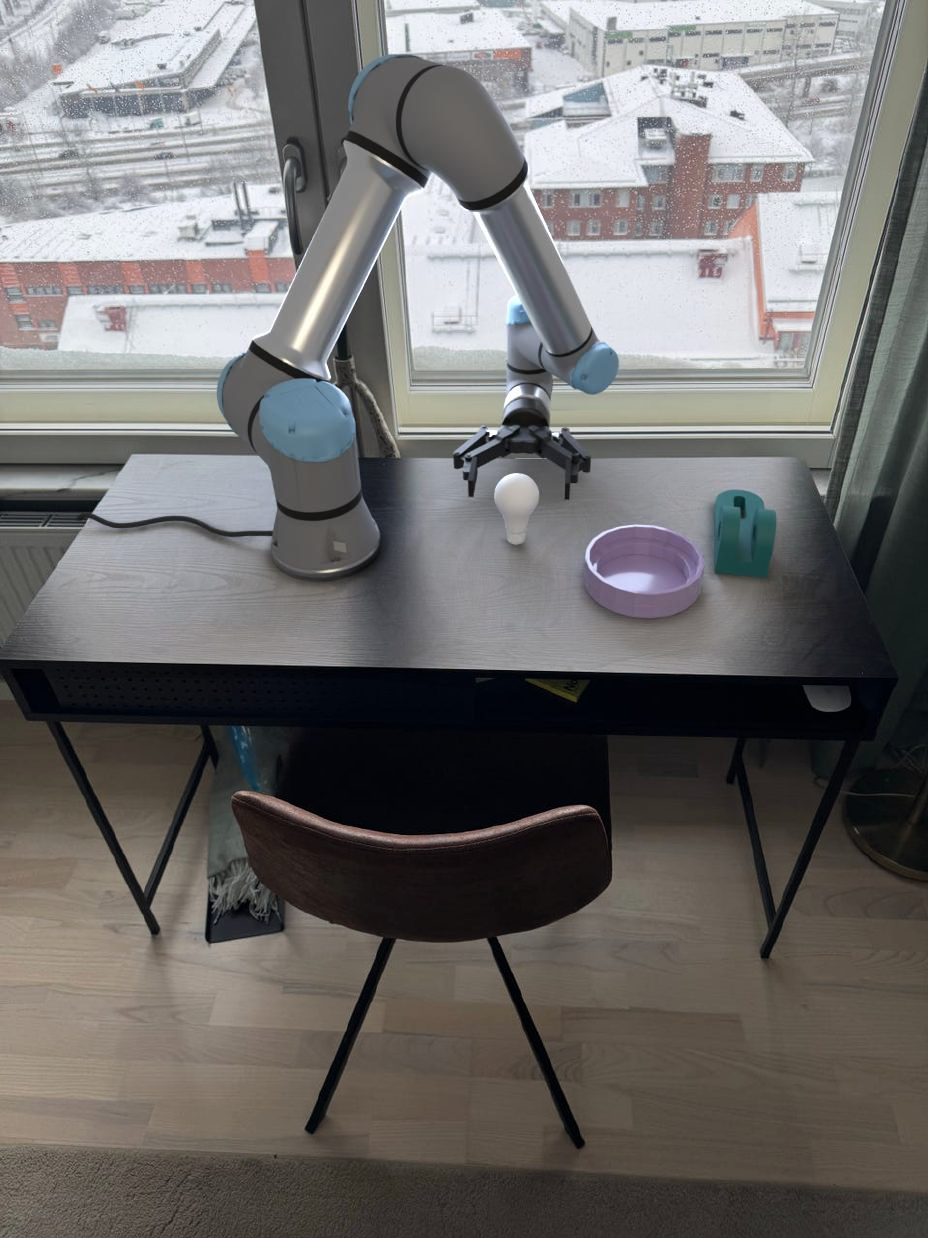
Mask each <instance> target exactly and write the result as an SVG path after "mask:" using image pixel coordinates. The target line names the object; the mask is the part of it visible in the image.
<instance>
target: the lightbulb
mask: <svg viewBox="0 0 928 1238" xmlns="http://www.w3.org/2000/svg"><path fill="white" fill-rule="evenodd" d="M493 495H494V496H493V498H494V503H495V506H496V508H497V510H498V511H499V513H500V514H501V516H502V518H503V520H504V527H505V530H506V537H507V538H506V540H507V541H508V543H509V544H512V545H514V546H518V545H522V544H523V543H524V542H525V541H526V534H527V530H528V527H529V521H530V517H531V515H533V513H534V511H535V509H536V508H537V506H538V505H539V502H540V492H539V487H538V485H537V483H536V481H534V479H532V478H531V477H530V476H528V475H526V474H524V473H520V472H518V473H515V472H514V473H511V474H507V475H505V476H503V477H502V478H501V479H500V480H499V481H498V483H497V484H496V486H495V489H494V493H493Z"/></svg>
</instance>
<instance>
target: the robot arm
mask: <svg viewBox="0 0 928 1238" xmlns="http://www.w3.org/2000/svg"><path fill="white" fill-rule="evenodd" d="M347 103H348V105H347V107H348V108H347V109H348V112H349V122H350V127H349V129H348V132H347V134H346V136H345V138H344V140H343V142H342V144H343V147H344V151H345V154H346V158H347V162H346V166H345V168H344V170H343V172H342V174H341V177H340V179H339V181H338V183H337V185H336V187H335V189H334V192H333V193H332V196H331V198H330V200H329V202H328V204H327V207H326V209H325V211H324V213H323V215H322V217H321V220H320V222H319V224H318V226H317V228H316V230H315V232H314V235H313V236H312V239H311V241H310V243H309V245H308V247H307V249H306V251H305V254H304V256H303V258H302V260H301V263H300V265H299V266H298V269H297V270H296V273H295V275H294V278H293V280H292V282H291V283H290V286H289V288H288V291H287V292H286V295H285V297H284V299H283V301H282V303H281V305H280V307H279V310H278V312H277V314H276V316H275V318H274V320H273V323H272V325H271V327H270V329H269V330H268V331H266V332H264V333H260V334H257V335H254V336H253V338H252V339H251V342H250V344H249V346H248V349H247V350H246V351H244V352H242V353H240V354H239V355H238V356H234V357H232V358H231V359H230V360H229V361H228V362H227V363H226V365H225V366H224V368H222V370H221V372H220V375H219V377H218V380H217V386H216V401H217V405H218V408H219V411H220V413H221V415H222V417H223V418H224V420H225V421H226V423H227V425H228V427H229V428H230V429H231V430H232V432H233V433H234V435H237V436H238V437H239V438H240V439H241V440H242V441H243V442H244V443H245V444H246V445H247V446H248V447H249V448H251V450H252V451H253V452H254V453H255V454H256V455H257V456H258V457H259V458H260V459H261V460H262V461H263V462H264V463H265V464H266V465H267V467H268V470H269V472H270V476H271V483H272V487H273V493H274V497H275V503H276V511H275V512H276V513H275V519H274V524H273V529H272V530H237V531H231V530H230V531H228V530H223V529H219V528H216V527H214V526H211V525H209V524H208V523H206V522H203V521H202V520H199V519H197V518H194V517H191V516H186V515H163V516H157V517H153V518H148V519H144V520H143V519H142V520H138V521H132V522H114V521H110V520H107V519H105V518H102V517H101V516H98V515H97V514H94V513H92V512H82V513H80V514H79V515H78V516H77V517H76V518H75V521H77V522H80V521H83V520H84V519H86V518H87V519H90V520H93V521H95V522H98V523H99V524H101V525H104V526H106V527H110V528H113V529H132V528H139V527H143V526H145V527H146V526H149V525H150V526H151V525H154V524H159V523H166V522H184V523H185V522H186V523H190V524H194V525H196V526H198V527H200V528H202V529H204V530H206V531H208V532H210V533H212V534H214V535H218V536H221V537H225V538H226V537H227V538H241V537H243V538H244V537H271V542H270V548H271V554H272V558H273V561H274V564H275V565H276V566H277V568H279V569H280V571H282V572H283V573H285V574H287V575H288V576H292V577H294V578H296V579H301V580H305V581H316V582H318V581H333V580H337V579H341V578H346V577H348V576H351V575H354V574H356V573H359V572H360V571H362V570H363V569H365V568H366V567H369V565H371V564H372V563H373V562H374V561H375V560H376V558H377V557H378V555H379V553H380V551H381V547H382V543H381V541H382V540H381V533H380V528H379V526H378V523H377V522H376V521H375V519H374V518H373V517H372V515H371V512H370V510H369V508H368V505H367V504H366V502H365V500H364V497H363V492H362V481H361V474H360V463H359V456H358V445H357V438H356V436H357V435H356V428H357V427H356V420H355V417H354V414H353V411H352V405H351V402H350V400H349V398H348V397H347V395H346V394H345V393H344V392H343V391H342V390H341V389H340V388H338V387H337V386H336V385H334V384H332V383H330V380H331V378H332V377H331V373H330V371H329V367H328V364H327V362H328V359H329V357H330V355H331V353H332V351H333V349H334V347H335V346H336V345H335V344H336V342H338V339H339V337H340V334H341V332H342V331H343V328H344V326H345V324H346V322H347V320H348V318H349V316H350V314H351V312H352V311H353V308H354V306H355V303H356V301H357V300H358V297H359V296H360V293H361V292H362V290H363V288H364V286H365V283H366V281H367V279H368V277H369V275H370V273H371V271H372V269H373V267H374V266H375V263H376V260H377V259H378V257H379V254H380V252H381V251H382V248H383V246H384V244H385V242H386V240H387V238H388V236H389V234H390V232H391V230H392V228H393V226H394V224H395V222H396V219H397V218H398V216H399V213H400V211H401V209H402V208H403V205H404V203H405V201H406V200H407V198H408V197H411V196H415V195H417V194H421V193H422V192H423V191H424V189H425V187H426V186H427V184H428V181H429V180H430V178H431V176H432V174H433V175H435V176H436V177H437V178H439V179H440V180H441V181H443V182H444V184H445V185H447V187H448V188H449V190H450V191H452V193H453V194H454V196H455V198H456V199H457V202H458V203H459V205H460V207H461V208H462V210H464V211H466V212H469V213H473V215H474V216H475V219H476V220H477V222H478V224H479V226H480V227H481V230H482V231H483V233H484V235H485V237H486V239H487V241H488V243H489V245H490V246H491V249H492V250H493V252H494V255H495V256H496V259H497V261H498V263H499V264H500V266H501V268H502V269H503V272H504V273H505V276H506V277H507V279H508V281H509V283H510V285H511V286H512V288H513V290H514V292H515V294H516V295H513V296H512V297H511V298H510V299H509V301H508V302H507V307H506V308H507V309H506V310H507V311H506V312H507V313H506V321H505V326H506V328H505V330H506V331H505V332H506V389H505V399H504V403H503V410H502V417H501V418H502V419H501V425H500V427H499V428H498V429H497V430H490V429H489V426H488V425H485V424H483V425H480V426H479V428H478V431H477V432H476V433H475V434H474V435H472V436H471V437H470V438H469V439H468V440H466V441H465V442H464V443H462V444H461V445H460V446H459V447H458V448H457V449H455V450H454V451H453V453H452V458H453V459H452V460H453V469H455V470H461V469H462V480H463V481H467V496H468V498H474V497H475V491H476V485H477V480H478V474H479V472H478V471H479V470H478V469H479V468H481V467H483V466H485V465H487V464H488V463H490V462H492V461H495V460H496V459H498V458H499V457H501V458H505V457H507V456H509V455H511V454H527V455H536V456H538V457H539V458H541V459H547V460H549V461H550V462H551V463H552V464H555V465H556V466H558V467H559V468H561V469H563V470H564V490H563V491H564V495H563V498H564V499H563V500H564V501H570V497H571V484H574V485H575V484H578V483H579V477H580V476H579V475H580V474H579V473H580V472H582V473H585V474H589V473H590V472H591V469H592V468H591V467H592V455H591V454H590V453H589V452H588V451H587V449H585V448H584V447H583V445H581V443H579V441H578V440H577V439H576V438H575V437H574V436H573V435H572V434H571V431H570V428H569V427H567V426H566V427H561V431H559V432H553V431H552V430H551V429H550V425H551V411H552V410H551V409H552V404H551V402H552V392H553V388H554V387H553V386H554V377H556V378H557V379H559V380H561V381H563V382H564V383H566V384H567V385H569V386H570V387H571V388H572V389H574V390H577V391H580V392H582V393H585V394H587V395H598V394H601V393H602V392H604V391H606V390H607V389H608V388H609V386H611V385H612V384H613V383H614V381H615V380H616V378H617V375H618V372H619V367H620V360H619V355H618V353H617V352H616V351H615V349H614V348H612V347H611V346H610V345H609V344H607V343H606V342H605V341H601V340H600V339H599V338H598V336H597V334H596V332H595V330H594V328H593V326H592V324H591V321H590V319H589V317H588V315H587V313H586V310H585V308H584V306H583V304H582V301H581V299H580V297H579V295H578V293H577V290H576V288H575V285H574V283H573V282H572V279H571V277H570V275H569V273H568V270H567V268H566V266H565V264H564V262H563V260H562V257H561V254H560V252H559V250H558V248H557V246H556V244H555V241H554V240H553V238H552V234H551V233H550V231H549V228H548V226H547V224H546V222H545V219H544V217H543V215H542V213H541V210H540V208H539V207H538V203H537V202H536V200H535V197H534V195H533V193H532V191H531V189H530V187H529V185H528V182H527V180H528V178H529V175H530V167H529V163H528V161H527V159H526V157H525V154H524V153H523V152H524V151H523V150H522V148H521V145H520V142H519V141H518V138H517V137H516V135H515V133H514V132H513V129H512V128H511V125H510V123H509V122H508V120H507V118H506V116H505V114H504V113H503V111H502V110H501V108H500V106H499V105H498V103H497V101H496V100H495V99H494V97H493V96H492V95H491V93H490V92H489V90H488V89H487V88H486V87H485V86H484V85H483V83H482V82H481V81H479V80H478V79H477V78H476V77H475V76H474V75H472V74H471V73H470V72H467V71H466V70H464V69H461V68H458V67H456V66H452V65H446V64H442V63H439V62H435V61H431V60H428V59H424V58H422V57H420V56H418V55H415V54H411V53H399V54H396V53H392V54H385V55H382V56H379V57H377V58H375V59H372V60H371V61H370V62H369V63H368V64H366V65H365V66H364V67H363V68H362V69H361V71H359V73H358V74H357V76H356V78H355V79H354V81H353V84H352V85H351V89H350V92H349V96H348V102H347Z"/></svg>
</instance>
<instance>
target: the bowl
mask: <svg viewBox="0 0 928 1238" xmlns="http://www.w3.org/2000/svg"><path fill="white" fill-rule="evenodd" d="M705 567H706V565H705V556H704V554H703V553H702V551H701V549H700V547H699V546H698V545H697V544H696V543H695V542H694V541H692V540H691V539H690V538H689V537H687V536H686V535H684V534H681V533H679V532H677V531H674V530H672V529H671V528H665V527H661V526H657V525H654V524H653V525H651V524H629V525H627V524H626V525H621V526H619V525H618V526H616V527H613V528H610V529H607V530H604V531H602V532H600V533H599V534H598V535H597V536H595V537H594V538H592V539H591V540H590V542H589V544H588V545H587V547H586V549H585V558H584V574H583V585H584V587H585V589H586V591H587V593H588V595H589V596H590V597H591V598H592V599H593V600H594V601H595V602H596V603H597V604H599V606H602V607H604V608H605V609H607V610H609V611H611V612H612V613H615V614H618V615H623V616H626V617H631V618H642V619H655V618H656V619H657V618H664V617H670V616H673V615H676V614H678V613H681V612H683V611H685V610H687V609H688V608H689V607H690V606H692V605H693V604H694V603H695V602H696V601H697V599H698V597H699V595H700V593H701V591H702V585H703V580H704V573H705Z"/></svg>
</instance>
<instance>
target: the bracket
mask: <svg viewBox="0 0 928 1238" xmlns="http://www.w3.org/2000/svg"><path fill="white" fill-rule="evenodd" d="M741 512H742V513H741ZM741 514H742V515H741ZM741 517H743V519H741ZM776 532H777V512H776V510H775V509H766V508H765V502H764V500H763V499H762V498H761V496H759V495H758V494H756V493H754V492H752V491H748V490H744V489H727V490H724V491H721V492H720V493H719V494H717V496H716V497H715V503H714V509H713V551H714V552H713V553H714V554H713V555H714V574H721V575H730V576H731V575H732V576H742V577H754V578H764V579H767V578H768V575H769V574H768V573H769V569H770V564H771V560H772V557H773V551H774V547H775V540H776V534H777V533H776Z"/></svg>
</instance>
